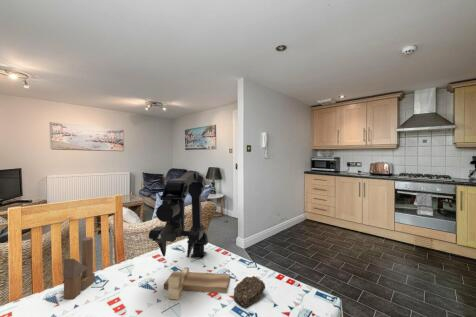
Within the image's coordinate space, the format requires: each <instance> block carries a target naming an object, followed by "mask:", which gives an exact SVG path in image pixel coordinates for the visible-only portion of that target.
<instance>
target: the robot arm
mask: <svg viewBox="0 0 476 317" xmlns="http://www.w3.org/2000/svg"><path fill="white" fill-rule="evenodd" d="M205 187H206V181H205V178H204V177H203V176H202V175H201V174H199V173H198V171H196V170H194V171H193V170H191V171H190V170H188V171H186V172H185V173H184V174H183V175H181V176H180V177H178V178H173V179H171V178H170V179H168V180H167V181H166V183H165V185H164V188H163V190H162V191H163V192H162V195H161V198H160V199H161V200H160V201H161V204H160V205H159V206H158V207H157V208H156V210H155V215H156V218H157V219H158V221H160V222H162V223H165V225H164V226H155V227H154V228H151V229H150V230H149V231H148V239H150V240H152V242H155V243H157V245H158V247H159V250H160V252H161V255H162V257H164V258H165V256H166V254H167V242H170V243H173V242H176V240H177V239H178V238H182V237H187V239H188V240H187V241H186V243H187V252H186V255H187V256H186V257H187V259H188V258H190V259H191V258H192V259H204V257H205V255H206V254H207V251H205V246H206V245H208V243H209V237H208V235H207V232H206V227H205V226H204V224H203V222H202V221H203V220H202V215H203V214H202V194H203V193H204V191H205ZM188 194H189V197H190V198H191V228H190V229H189V230H185V229H186V225H185V219H186V215H187V214H185V206H186V205H185V204H186V203H185V200H186V198H187V196H188ZM191 253H192V254H191Z"/></svg>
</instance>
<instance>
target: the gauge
mask: <svg viewBox="0 0 476 317" xmlns="http://www.w3.org/2000/svg"><path fill="white" fill-rule="evenodd" d="M173 271H174V272H173ZM173 271H172V272H173V274H172V273H171V274H172V275H171V274H170V275H171V276H170V275H169V276H170V277H169V276H168V278H169V279H168V278H167V279H168V289H167V291H168V292H167V293H168V294H167V295H168V300H179V299H180V298H181V296H182V293H183V291H184V290H183V281H184V279H185V278H186V276H187V274H188V273H189V272H190V267H188V266H187V267H183V270H182V271H181V270H180V271H178V270H177V271H176V270H173Z"/></svg>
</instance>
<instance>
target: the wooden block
mask: <svg viewBox="0 0 476 317" xmlns="http://www.w3.org/2000/svg"><path fill="white" fill-rule="evenodd" d="M93 265H94V238H93V236H87V237H84V238H82V239H81V262H80V261H78V260H77V259H75V258H63V299H64V300H73V299H75V298H76V297H78V296H79V295H80V294H81V292H82V291H83V290H86V289H87V288H89V287H90V286H91V285H92V284H93V283H95V280H96V279H95V278H96V277H95V275H96V274H95V272H94V266H93Z"/></svg>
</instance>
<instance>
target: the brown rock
mask: <svg viewBox="0 0 476 317" xmlns="http://www.w3.org/2000/svg"><path fill="white" fill-rule="evenodd" d="M233 290H234V291H233V300H234V302H236V303H238V304H239V305H240V306H242V307H244V308H246V307H249V306H251V304H252V303H254V302H257V301H258V300H260V298H261V296H262V294H263V293H264V290H266V285H265V282H264V281H263V280H262V279H260V278H258V277H257V276H255V275H253V276H245V277H244V278H242V279H241V281H239V282H238V283H237V284H236V286H235V287H234V288H233Z"/></svg>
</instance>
